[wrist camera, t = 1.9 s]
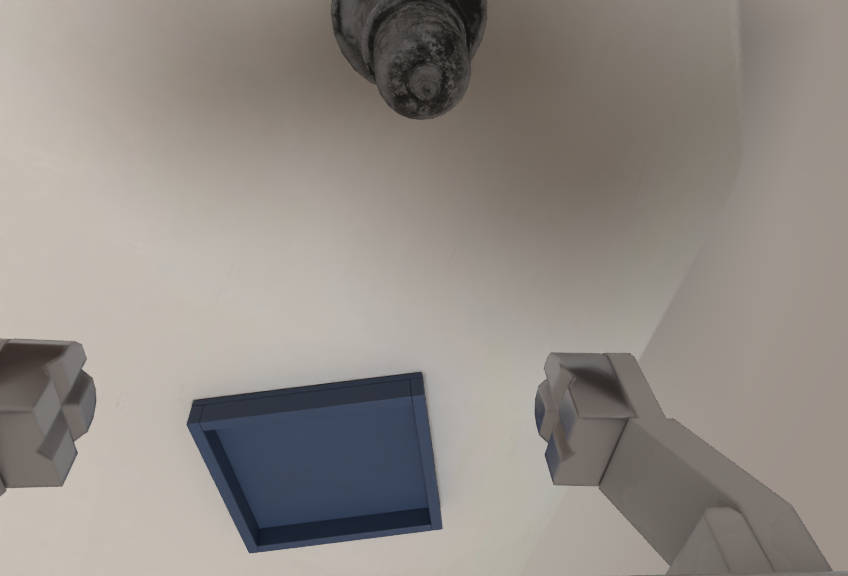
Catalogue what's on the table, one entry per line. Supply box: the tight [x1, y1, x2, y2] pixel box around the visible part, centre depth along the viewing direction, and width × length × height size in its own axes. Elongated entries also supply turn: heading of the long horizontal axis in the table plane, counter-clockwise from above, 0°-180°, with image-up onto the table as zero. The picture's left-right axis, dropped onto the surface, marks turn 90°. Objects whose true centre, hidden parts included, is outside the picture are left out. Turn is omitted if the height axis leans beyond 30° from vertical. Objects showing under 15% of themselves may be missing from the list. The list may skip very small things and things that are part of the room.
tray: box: [187, 373, 442, 553], centre depth 43 cm, size 15×15×2 cm
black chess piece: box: [331, 0, 487, 120], centre depth 22 cm, size 6×6×12 cm
